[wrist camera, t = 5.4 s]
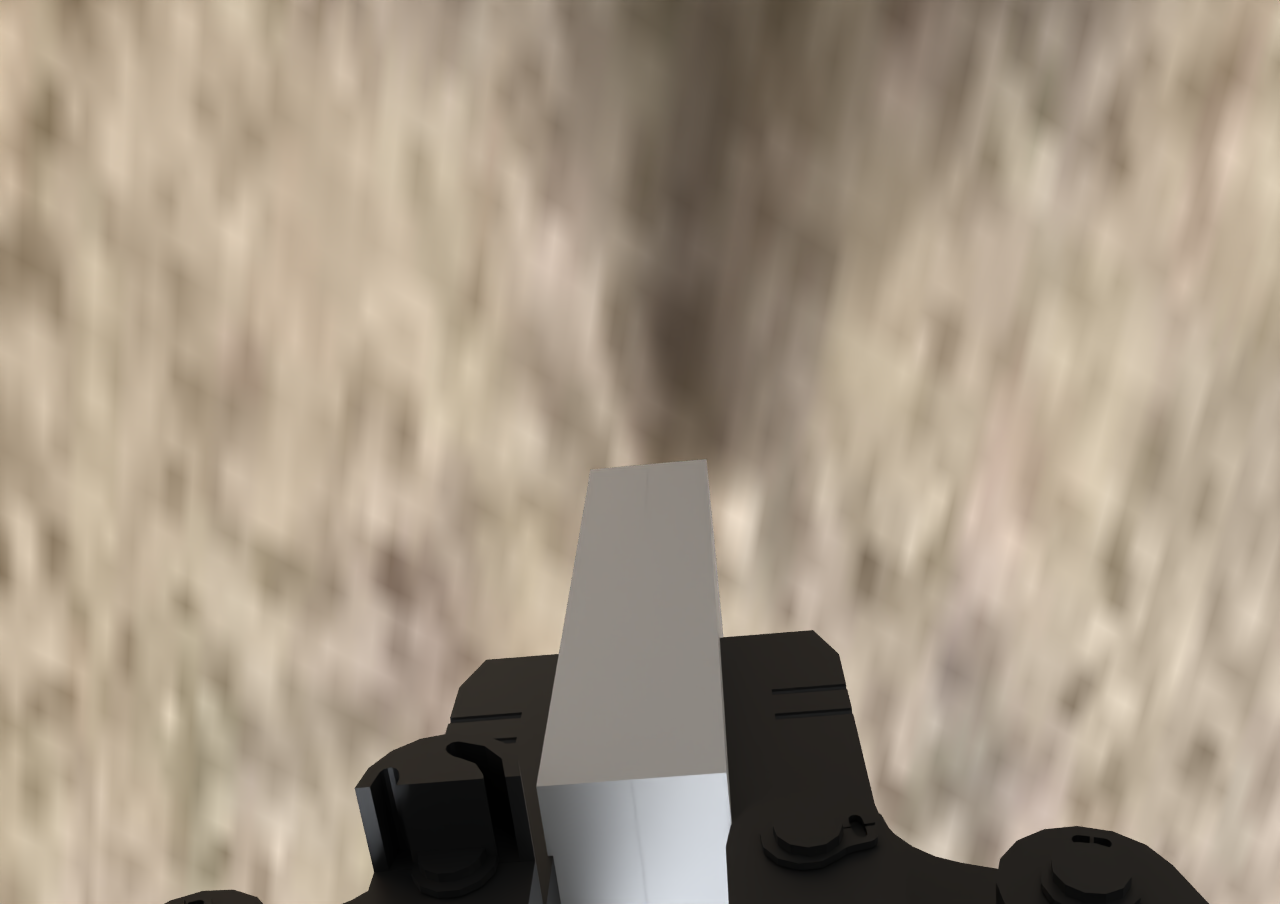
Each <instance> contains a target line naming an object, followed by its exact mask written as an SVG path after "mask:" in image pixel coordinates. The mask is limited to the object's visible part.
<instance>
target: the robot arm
mask: <svg viewBox="0 0 1280 904" xmlns="http://www.w3.org/2000/svg"><path fill="white" fill-rule="evenodd" d="M450 720H451V723H450V724H448V727H447V730H446V734H444V735H439V736H434V737H428V738H423V739H419V740H417V741H414V742H412V743H410V744H407V745H405V746H403V747H400V748H398V749H395V750H393V751H391V752H390V753H388V754H387V755H386V756H384V757H383V758H382V759H380V760H379V761H378V762H376V763H375V764H374V765H372V766H371V767H369V768H368V770H367V771H366V773H365V774H364V775H363V777H362V778H361V780H360V781H359V783H358V784H357V786H356V787H355V791H356V796H357V800H358V804H359V809H360V813H361V817H362V822H363V826H364V830H365V834H366V839H367V843H368V847H369V852H370V856H371V860H372V865H373V869H374V875H373V878H372V881H371V884H370V887H369V890H368V891H367V892H365V893H363V894H362V895H360V896H358V897H356V898H355V899H353V900H351V901H348V902H346V903H343V904H1209V903H1208V902H1207V901H1206V900H1205V899H1204V898H1203V897H1202V896H1201V895H1200V894H1199V893H1198V892H1197V891H1196V890H1195V888H1194V887H1193V886H1192V885H1191V884H1190V883H1189V882H1188V881H1187V880H1186V879H1185V878H1184V877H1183V876H1182V875H1181V874H1180V873H1179V871H1178V870H1177V869H1176V868H1175V867H1174V866H1173V865H1172V864H1170V863H1169V862H1168V861H1167V860H1165V859H1164V858H1163V857H1161V856H1160V855H1159V854H1157V853H1156V852H1155V851H1153V850H1152V849H1151V848H1149V847H1148V846H1147V845H1145V844H1143V843H1140V842H1138V841H1135V840H1133V839H1130V838H1128V837H1125V836H1123V835H1120V834H1118V833H1115V832H1113V831H1106V830H1099V829H1093V828H1086V827H1079V826H1074V827H1063V828H1053V829H1044V830H1041V831H1039V832H1037V833H1034V834H1032V835H1029V836H1027V837H1025V838H1022V839H1020V840H1018V841H1016V842H1015V843H1014V845H1013V846H1012V847H1011V848H1010V849H1009V850H1008V851H1007V852H1006V853H1005V854H1004V855H1003V856H1002V857H1001V859H1000V863H999V868H998V869H995V868H989V867H983V866H977V865H971V864H965V863H960V862H955V861H951V860H947V859H943V858H939V857H935V856H933V855H931V854H928V853H926V852H924V851H921V850H919V849H917V848H915V847H912V846H911V845H909V844H908V843H907V842H905V841H904V840H902V839H901V838H899V837H898V836H897V835H895V834H894V833H893V832H892V831H891V830H890V829H889V827H888V826H887V824H886V822H885V821H884V819H883V817H882V815H881V814H879V813H878V811H877V808H876V806H875V804H874V799H873V795H872V791H871V787H870V783H869V779H868V774H867V770H866V766H865V762H864V758H863V753H862V749H861V745H860V741H859V737H858V732H857V728H856V724H855V720H854V716H853V714H852V707H851V703H850V699H849V695H848V691H847V689H846V682H845V678H844V674H843V670H842V665H841V661H840V657H839V654H838V653H837V652H836V651H835V650H834V649H833V648H832V647H831V646H829V645H828V644H827V643H826V642H825V641H824V640H823V639H822V638H821V637H820V636H819V635H818V634H817V633H815V632H814V631H813V630H810V631H798V632H785V633H773V634H760V635H748V636H735V637H723V627H722V616H721V606H720V595H719V585H718V574H717V564H716V553H715V543H714V532H713V522H712V511H711V501H710V490H709V479H708V469H707V459H701V460H690V461H679V462H668V463H657V464H645V465H634V466H623V467H612V468H601V469H590V475H589V481H588V487H587V493H586V498H585V504H584V510H583V516H582V522H581V528H580V534H579V539H578V545H577V551H576V557H575V563H574V569H573V574H572V580H571V586H570V592H569V598H568V604H567V609H566V615H565V621H564V627H563V633H562V639H561V645H560V650H559V654H554V655H541V656H529V657H516V658H504V659H491V660H486V661H485V662H484V663H483V664H482V665H481V666H480V667H479V668H478V669H477V670H476V671H475V672H474V673H473V674H472V675H471V676H470V677H469V678H468V679H467V680H466V681H465V682H464V683H463V684H462V685H461V686H460V687H459V690H458V694H457V697H456V700H455V704H454V707H453V710H452V714H451V717H450ZM165 904H263V903H262V902H261V901H260V900H259V899H258V898H257V897H255V896H252V895H248V894H245V893H242V892H239V891H236V890H215V891H201V892H198V893H195V894H191V895H188V896H184V897H181V898H178V899H174V900H171V901H169V902H167V903H165Z"/></svg>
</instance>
